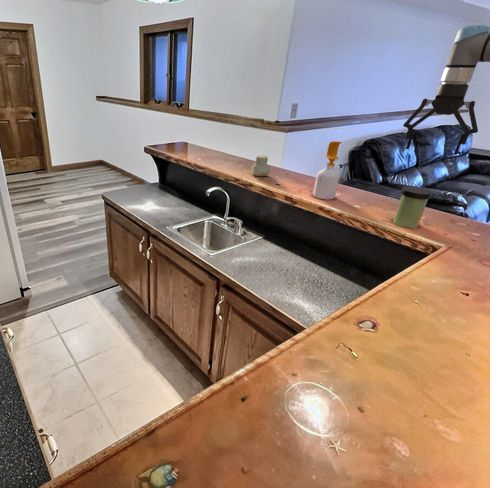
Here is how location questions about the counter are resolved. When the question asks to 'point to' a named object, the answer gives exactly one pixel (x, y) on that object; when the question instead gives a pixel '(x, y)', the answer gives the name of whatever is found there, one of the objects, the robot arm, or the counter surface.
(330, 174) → the soap bottle
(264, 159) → the air freshener
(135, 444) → the counter surface
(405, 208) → the jar
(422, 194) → the lid
